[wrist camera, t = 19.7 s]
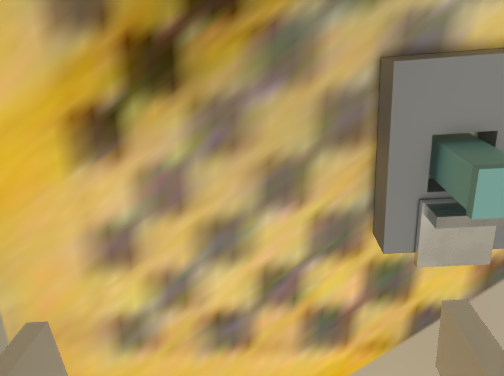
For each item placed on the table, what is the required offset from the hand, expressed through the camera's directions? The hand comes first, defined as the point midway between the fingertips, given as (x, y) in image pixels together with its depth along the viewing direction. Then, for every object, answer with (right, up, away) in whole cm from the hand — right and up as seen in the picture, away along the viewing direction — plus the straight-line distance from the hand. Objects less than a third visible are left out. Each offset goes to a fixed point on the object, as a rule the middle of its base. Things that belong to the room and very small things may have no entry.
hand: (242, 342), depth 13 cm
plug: (+21, +9, +28) cm, 36 cm away
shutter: (+21, +1, +28) cm, 35 cm away
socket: (+21, +9, +29) cm, 37 cm away
